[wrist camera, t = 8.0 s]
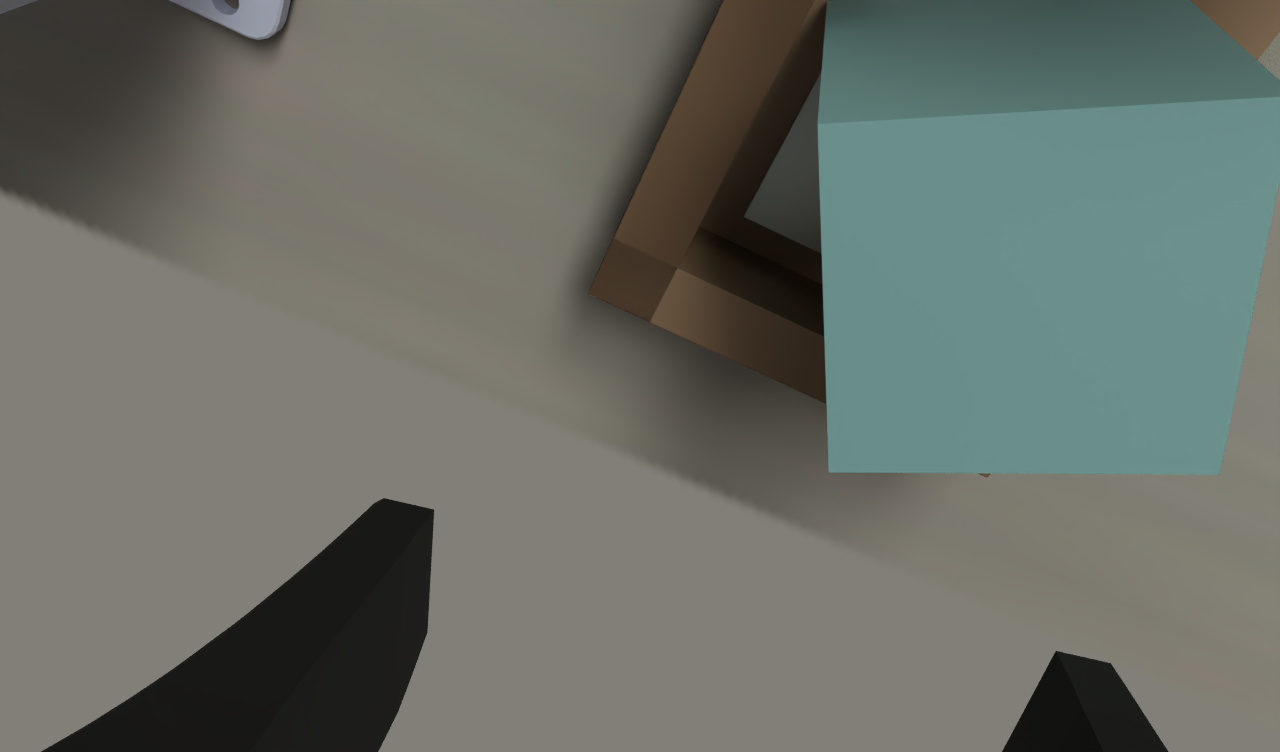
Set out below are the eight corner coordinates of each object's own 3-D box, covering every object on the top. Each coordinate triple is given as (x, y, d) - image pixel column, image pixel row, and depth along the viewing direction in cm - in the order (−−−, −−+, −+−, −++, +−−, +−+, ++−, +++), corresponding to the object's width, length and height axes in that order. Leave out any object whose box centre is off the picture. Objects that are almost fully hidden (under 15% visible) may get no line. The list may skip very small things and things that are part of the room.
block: (834, 277, 20) (828, 472, 15) (827, 1, 17) (817, 124, 12) (1124, 268, 19) (1223, 474, 14) (1163, -27, 16) (1302, 95, 11)
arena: (613, 236, 21) (588, 293, 19) (993, -586, 14) (1018, -635, 12) (974, 405, 22) (987, 477, 20) (1514, -296, 14) (1622, -295, 12)
